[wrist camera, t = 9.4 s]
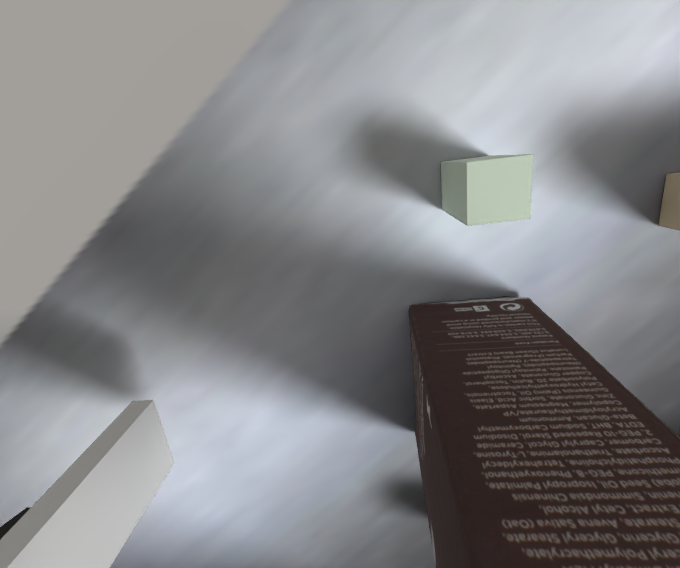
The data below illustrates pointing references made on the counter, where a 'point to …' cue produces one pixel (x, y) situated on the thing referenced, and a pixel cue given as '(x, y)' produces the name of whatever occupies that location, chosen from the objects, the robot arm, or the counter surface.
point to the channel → (671, 202)
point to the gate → (487, 188)
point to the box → (535, 446)
